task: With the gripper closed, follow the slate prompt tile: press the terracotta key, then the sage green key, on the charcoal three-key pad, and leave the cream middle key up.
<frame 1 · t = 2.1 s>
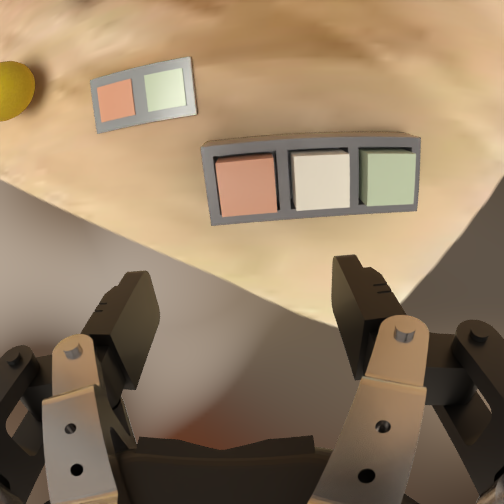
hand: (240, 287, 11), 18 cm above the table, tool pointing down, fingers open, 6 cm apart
key sage: (386, 176, 23), point 4 cm above the table, slide at 0.0 cm
lemon: (30, 88, 23), on the table
key terracotta: (247, 183, 24), point 4 cm above the table, slide at 0.0 cm
key cream: (319, 178, 24), point 4 cm above the table, slide at 0.0 cm
prompt tile: (142, 95, 24), on the table
keypad: (311, 168, 27), on the table
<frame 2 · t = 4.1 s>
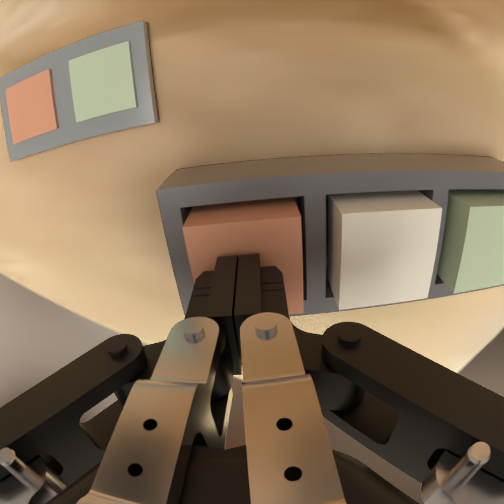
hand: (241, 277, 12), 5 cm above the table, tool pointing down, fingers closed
key sage: (481, 237, 12), point 4 cm above the table, slide at 0.0 cm
key terracotta: (247, 257, 13), point 4 cm above the table, slide at 0.0 cm, touching gripper
key cream: (381, 246, 13), point 4 cm above the table, slide at 0.0 cm
prompt tile: (69, 94, 13), on the table
keypad: (356, 215, 16), on the table
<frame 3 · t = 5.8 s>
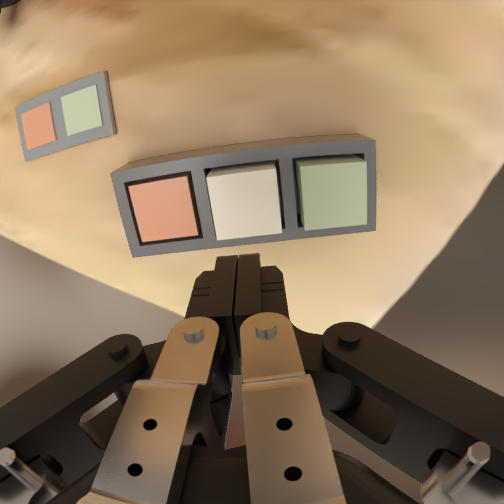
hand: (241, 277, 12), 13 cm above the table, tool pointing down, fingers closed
key sage: (331, 190, 20), point 4 cm above the table, slide at 0.0 cm
key terracotta: (167, 204, 22), point 2 cm above the table, slide at 1.2 cm
key cream: (245, 199, 20), point 4 cm above the table, slide at 0.0 cm
prompt tile: (63, 117, 21), on the table
keypad: (246, 185, 23), on the table
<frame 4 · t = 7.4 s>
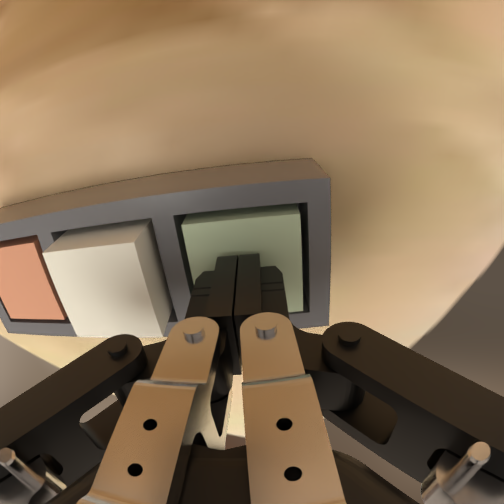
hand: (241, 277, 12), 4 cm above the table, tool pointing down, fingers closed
key sage: (246, 255, 13), point 3 cm above the table, slide at 1.1 cm, touching gripper
key terracotta: (32, 272, 13), point 2 cm above the table, slide at 1.2 cm
key cream: (111, 279, 12), point 4 cm above the table, slide at 0.0 cm
keypad: (138, 241, 15), on the table
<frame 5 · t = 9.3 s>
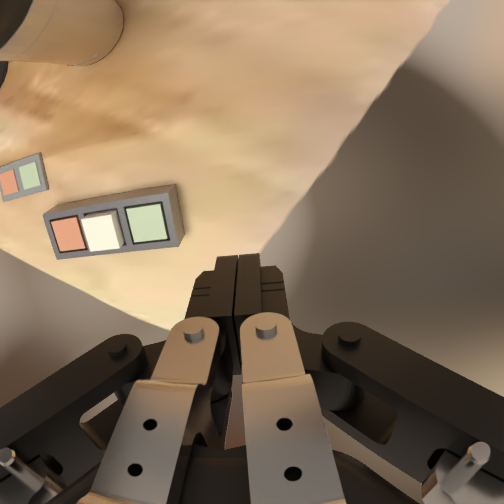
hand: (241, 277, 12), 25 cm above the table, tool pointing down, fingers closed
key sage: (149, 220, 35), point 2 cm above the table, slide at 1.2 cm
key terracotta: (72, 231, 36), point 2 cm above the table, slide at 1.2 cm
key cream: (104, 229, 35), point 4 cm above the table, slide at 0.0 cm
prompt tile: (21, 177, 35), on the table
keypad: (115, 218, 38), on the table
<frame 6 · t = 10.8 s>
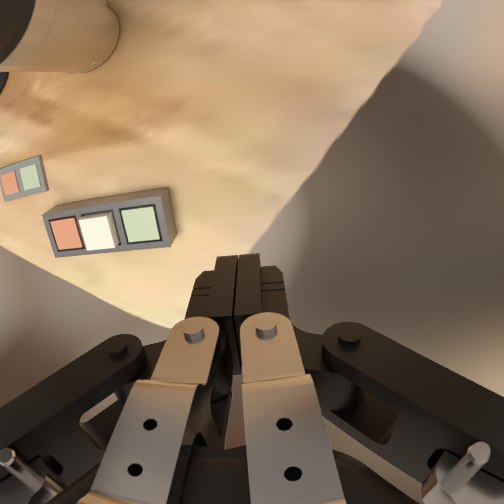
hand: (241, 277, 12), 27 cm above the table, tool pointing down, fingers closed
key sage: (143, 221, 37), point 2 cm above the table, slide at 1.2 cm
key terracotta: (70, 230, 38), point 2 cm above the table, slide at 1.2 cm
key cream: (100, 229, 36), point 4 cm above the table, slide at 0.0 cm
prompt tile: (22, 178, 37), on the table
keypad: (111, 219, 39), on the table
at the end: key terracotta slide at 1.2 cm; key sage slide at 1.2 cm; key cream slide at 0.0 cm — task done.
